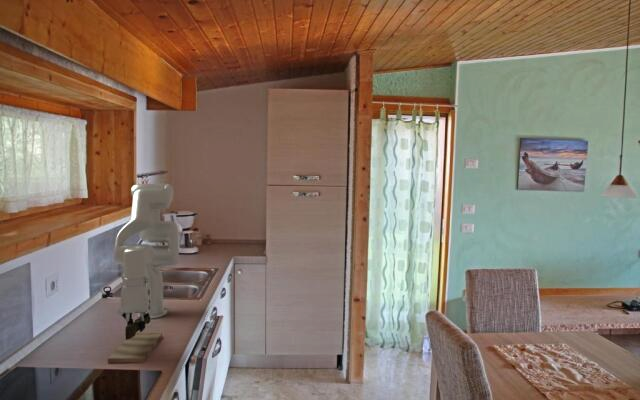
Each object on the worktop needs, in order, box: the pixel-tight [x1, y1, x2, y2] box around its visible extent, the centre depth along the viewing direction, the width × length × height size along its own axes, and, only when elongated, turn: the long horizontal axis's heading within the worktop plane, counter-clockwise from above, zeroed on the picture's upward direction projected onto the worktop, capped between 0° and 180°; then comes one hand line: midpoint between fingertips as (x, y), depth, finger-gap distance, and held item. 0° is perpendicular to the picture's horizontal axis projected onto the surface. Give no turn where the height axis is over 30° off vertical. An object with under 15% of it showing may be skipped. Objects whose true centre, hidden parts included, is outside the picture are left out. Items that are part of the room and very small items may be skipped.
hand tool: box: [124, 316, 151, 340], centre depth 176 cm, size 19×4×5 cm, turn 178°
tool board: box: [107, 332, 163, 364], centre depth 176 cm, size 24×12×2 cm, turn 3°
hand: (136, 330), depth 176 cm, fingers closed on hand tool, 3 cm apart
